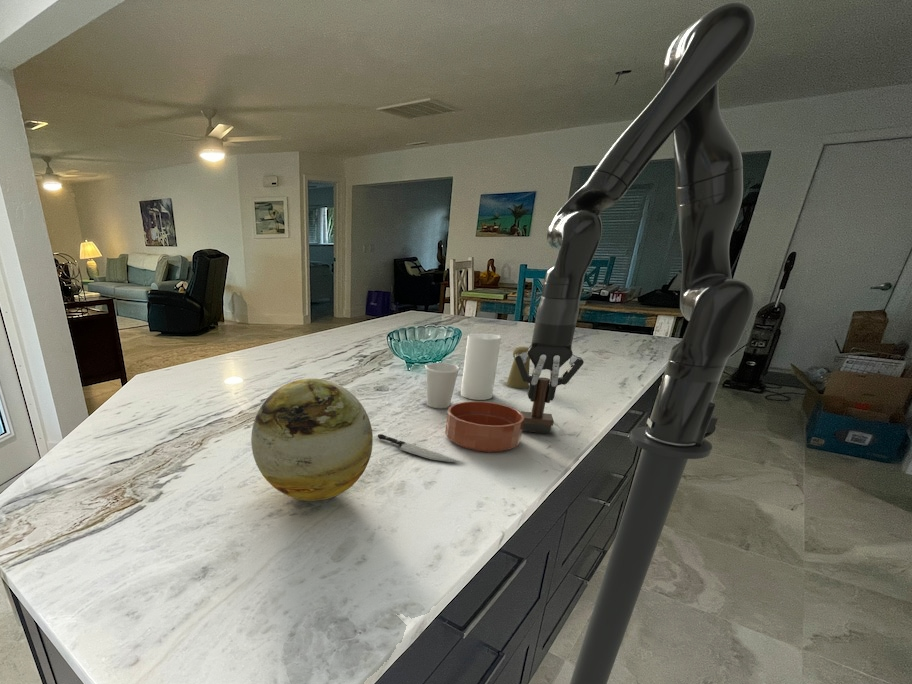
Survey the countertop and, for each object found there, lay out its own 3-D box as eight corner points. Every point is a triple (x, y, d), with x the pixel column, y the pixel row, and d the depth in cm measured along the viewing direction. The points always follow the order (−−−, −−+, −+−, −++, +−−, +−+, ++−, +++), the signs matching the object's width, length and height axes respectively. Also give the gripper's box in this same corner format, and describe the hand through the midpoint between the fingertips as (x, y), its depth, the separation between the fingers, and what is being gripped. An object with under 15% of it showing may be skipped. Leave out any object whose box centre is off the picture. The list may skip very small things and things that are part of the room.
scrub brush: (548, 427, 106) (559, 377, 101) (550, 434, 102) (561, 383, 97) (518, 424, 108) (527, 375, 103) (519, 431, 104) (528, 380, 99)
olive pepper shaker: (522, 389, 132) (529, 350, 127) (502, 385, 136) (508, 347, 131) (532, 385, 135) (539, 347, 131) (512, 380, 139) (518, 344, 135)
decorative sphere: (271, 463, 91) (265, 363, 83) (373, 470, 88) (378, 366, 80) (240, 519, 74) (229, 398, 65) (366, 530, 70) (371, 404, 62)
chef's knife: (452, 469, 88) (460, 462, 90) (453, 463, 88) (460, 457, 90) (370, 441, 100) (378, 436, 102) (370, 436, 100) (379, 432, 102)
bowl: (517, 430, 105) (522, 405, 102) (521, 458, 92) (526, 430, 89) (447, 422, 110) (450, 398, 107) (441, 448, 97) (444, 421, 94)
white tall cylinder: (473, 388, 133) (481, 331, 126) (498, 396, 127) (508, 336, 120) (454, 394, 129) (461, 335, 122) (478, 401, 123) (487, 340, 116)
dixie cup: (432, 411, 116) (436, 372, 112) (415, 401, 124) (419, 364, 119) (461, 407, 119) (466, 369, 114) (443, 398, 126) (447, 361, 122)
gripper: (519, 321, 94) (506, 403, 101) (598, 324, 90) (578, 410, 97) (518, 316, 100) (505, 393, 107) (591, 318, 96) (572, 398, 103)
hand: (539, 400), depth 102 cm, fingers closed on scrub brush, 2 cm apart
